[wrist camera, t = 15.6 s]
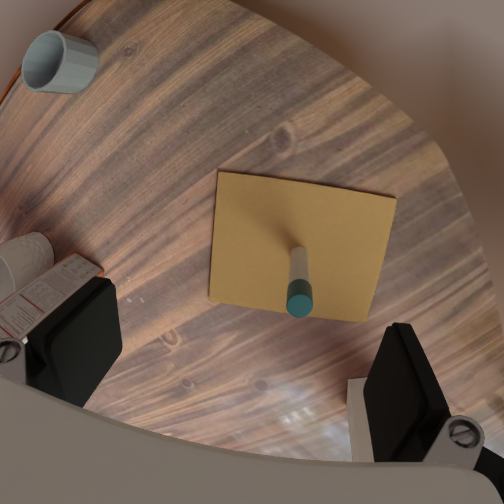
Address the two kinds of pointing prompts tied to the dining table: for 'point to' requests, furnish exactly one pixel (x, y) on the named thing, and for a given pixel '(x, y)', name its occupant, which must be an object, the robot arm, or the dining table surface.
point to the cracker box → (44, 295)
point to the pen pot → (59, 63)
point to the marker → (299, 284)
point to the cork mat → (297, 244)
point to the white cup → (23, 261)
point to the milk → (358, 422)
